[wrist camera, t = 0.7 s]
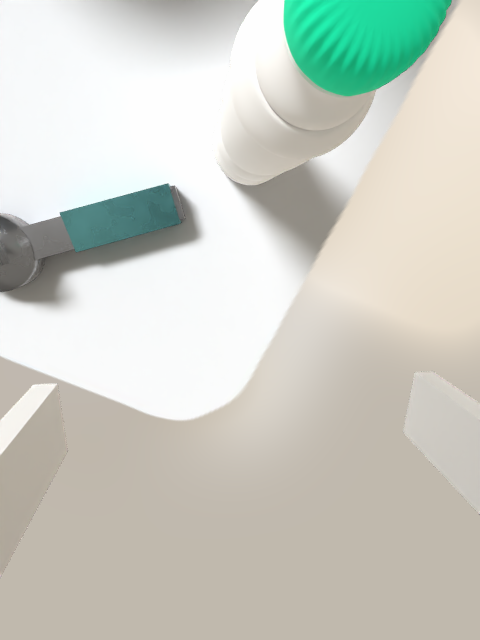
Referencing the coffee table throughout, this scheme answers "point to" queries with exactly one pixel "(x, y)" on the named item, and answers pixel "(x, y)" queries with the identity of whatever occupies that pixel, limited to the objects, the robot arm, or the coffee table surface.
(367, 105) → the water bottle
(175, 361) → the coffee table surface
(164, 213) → the ratchet
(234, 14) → the coffee table surface
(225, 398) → the coffee table surface
